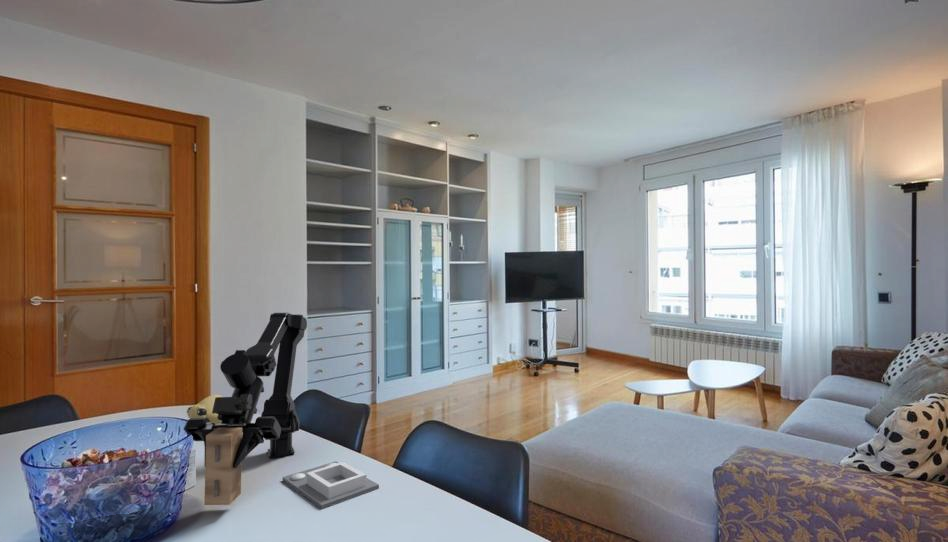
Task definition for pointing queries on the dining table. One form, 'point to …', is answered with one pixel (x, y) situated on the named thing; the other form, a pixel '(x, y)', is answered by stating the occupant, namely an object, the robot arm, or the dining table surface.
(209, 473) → the tan tall block
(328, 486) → the grey insertion base
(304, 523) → the dining table surface
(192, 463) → the medicine box
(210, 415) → the toy pig
